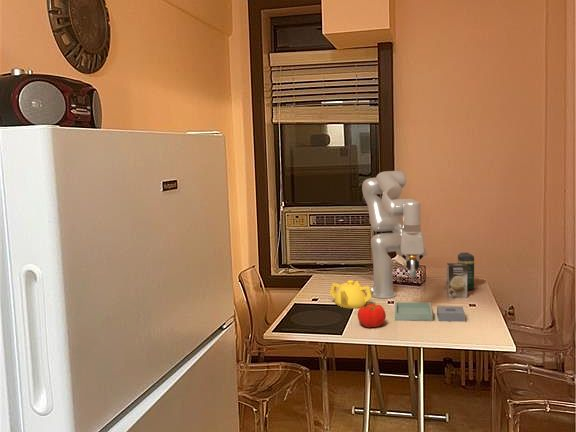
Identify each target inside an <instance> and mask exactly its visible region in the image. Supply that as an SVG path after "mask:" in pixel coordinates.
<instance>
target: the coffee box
mask: <svg viewBox="0 0 576 432" xmlns="http://www.w3.org/2000/svg"><path fill="white" fill-rule="evenodd" d="M446 296H447V297H448V298H450V299H451V298H456V299H457V298H459V299H460V298H462V299H463V298H468V290H467V265H466V264H465V263H458V262H455V263H453V262H451V263H450V262H448V263H446Z"/></svg>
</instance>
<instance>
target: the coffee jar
mask: <svg viewBox="0 0 576 432" xmlns="http://www.w3.org/2000/svg"><path fill="white" fill-rule="evenodd" d="M457 263H465V264H466V265H467V291H471V290H474V289H475V256H474V254H472V253H469V252H460V253H458V254H457Z"/></svg>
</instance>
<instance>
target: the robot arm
mask: <svg viewBox="0 0 576 432" xmlns="http://www.w3.org/2000/svg"><path fill="white" fill-rule="evenodd" d="M406 185H407V176H406V175H405V173H404V172H403V171H401V170H387V171H381V172H379V173H378V174H377V175H376V177H370V178H367V179H365V180H363V182H362V187H361V189H362V195H363V199H364V200H365V202H366V205H367V209H368V215H369V220H370V226H371V229H372V231H373V232H385V233H377V234H375V235H372V237H371V239H370V246H371V251H372V252H371V253H372V262H373V265H372V266H373V267H372V268H373V269H372V270H373V286H370V289H371V292H372V295H373V296H372V297H373V298H376V299H391V298H395V297H396V296H397V293H396V292H395V291H394V286H393V285H394V279H393V275H394V273H393V260H392V258H391V256H390V255H389V254H388V253H392V252H393V253H394V252H396V253H397V256H398V257H401V258H403V259H404V260H405V262H406V263H405V266H406V268H407V270H408V271H409V270H410V261H409V257H408V255H417V258H416V271H418V269H419V268H420V261H421V260H422V259H423V258H424V257H427V255H428V253H427V251H426V249H425V239H424V238H425V237H424V233H423V232H424V231H422V230H421V229H422V225H421V224H422V219H421V218H422V217H421V216H422V215H421V213H422V212H421V211H422V210H421V202H420V201H419V200H415V199H414V198H399V197H400V196H401V195H402V192H403V188H405V186H406ZM378 195H381V197H380V196H378ZM402 216H403V217H402ZM390 231H392V232H390ZM364 291H365V292H366V289H364ZM372 297H371V298H372Z"/></svg>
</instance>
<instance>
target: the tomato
mask: <svg viewBox="0 0 576 432" xmlns="http://www.w3.org/2000/svg"><path fill="white" fill-rule="evenodd" d="M386 317H387V314H386V311H385V308H384V307H383V306H382V305H380V304H373V303H370V304H366V305H364V306H363V307H360V308H359V309H358V310H357V319H358V321H359V323H360V324H362V326H364V327H365V328H377V327H379V326H381V325H382V324H383V323H384V322H385V321H386V320H387V319H386Z"/></svg>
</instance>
